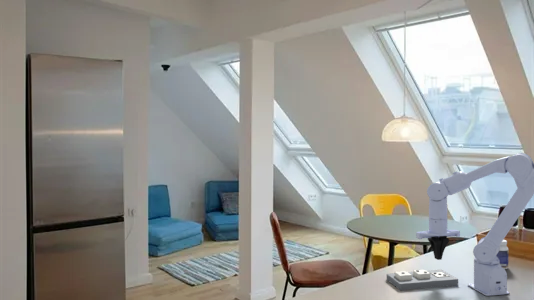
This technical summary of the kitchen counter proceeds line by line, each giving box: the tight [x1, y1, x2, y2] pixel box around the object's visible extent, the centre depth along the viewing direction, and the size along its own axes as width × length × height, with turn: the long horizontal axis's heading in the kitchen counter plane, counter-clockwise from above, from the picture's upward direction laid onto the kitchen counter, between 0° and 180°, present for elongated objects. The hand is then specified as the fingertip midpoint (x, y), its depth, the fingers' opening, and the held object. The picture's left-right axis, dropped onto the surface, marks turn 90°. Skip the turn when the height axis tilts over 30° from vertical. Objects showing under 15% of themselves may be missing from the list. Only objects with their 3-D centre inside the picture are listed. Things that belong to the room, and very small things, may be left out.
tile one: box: [394, 270, 412, 281], centre depth 146 cm, size 4×4×2 cm
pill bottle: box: [496, 239, 510, 270], centre depth 160 cm, size 6×6×10 cm
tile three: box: [431, 272, 449, 278], centre depth 148 cm, size 4×4×2 cm
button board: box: [386, 269, 459, 291], centre depth 147 cm, size 10×20×2 cm, turn 99°
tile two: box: [412, 269, 430, 279], centre depth 147 cm, size 4×4×2 cm
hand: (438, 258), depth 148 cm, fingers closed
